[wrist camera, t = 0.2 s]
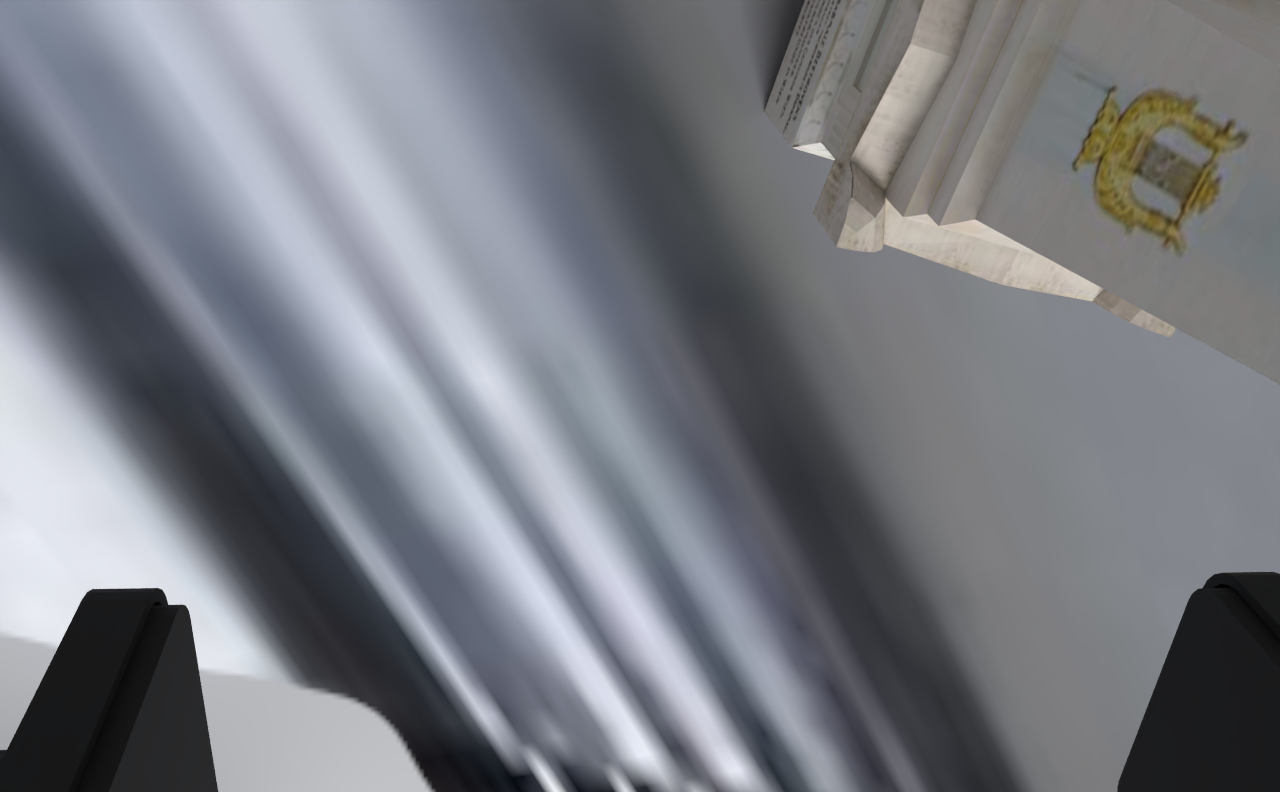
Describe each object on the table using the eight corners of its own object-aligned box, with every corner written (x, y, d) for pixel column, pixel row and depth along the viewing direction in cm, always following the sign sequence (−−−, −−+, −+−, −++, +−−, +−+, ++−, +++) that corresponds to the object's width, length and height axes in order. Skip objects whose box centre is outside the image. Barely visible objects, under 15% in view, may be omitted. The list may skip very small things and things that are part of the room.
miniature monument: (861, -199, 35) (1890, -101, 9) (1142, -93, 38) (2576, 221, 12) (747, 119, 40) (1217, 789, 14) (1004, 195, 42) (1813, 883, 16)
